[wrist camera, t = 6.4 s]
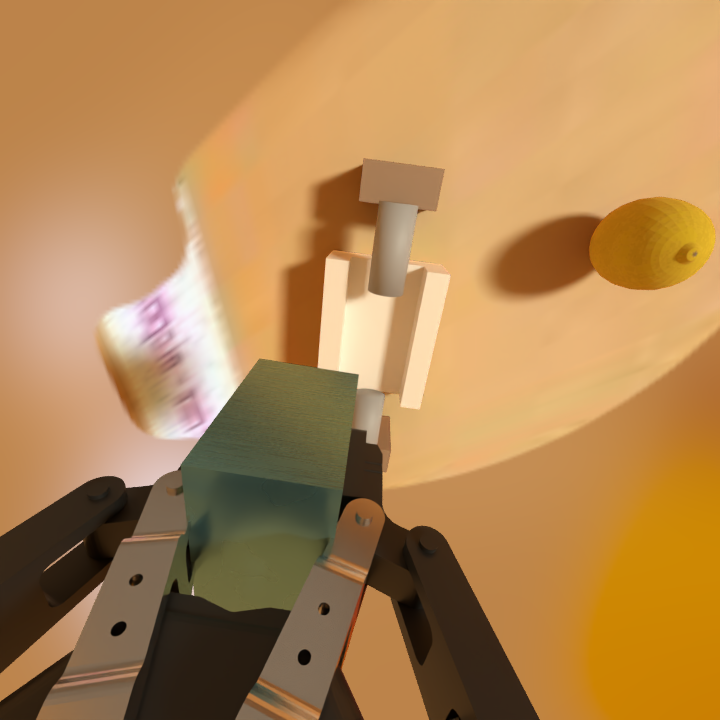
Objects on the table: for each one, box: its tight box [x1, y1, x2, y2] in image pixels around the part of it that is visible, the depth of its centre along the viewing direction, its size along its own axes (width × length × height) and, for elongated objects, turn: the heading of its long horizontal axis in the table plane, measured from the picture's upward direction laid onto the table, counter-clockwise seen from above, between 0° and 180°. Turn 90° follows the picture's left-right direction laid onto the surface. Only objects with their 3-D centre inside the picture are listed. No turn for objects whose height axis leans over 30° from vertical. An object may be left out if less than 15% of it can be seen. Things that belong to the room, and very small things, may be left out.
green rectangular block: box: [181, 359, 359, 612], centre depth 13 cm, size 6×4×6 cm, turn 172°
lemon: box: [589, 197, 715, 290], centre depth 22 cm, size 6×6×8 cm
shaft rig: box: [318, 158, 451, 472], centre depth 27 cm, size 23×9×7 cm, turn 173°
